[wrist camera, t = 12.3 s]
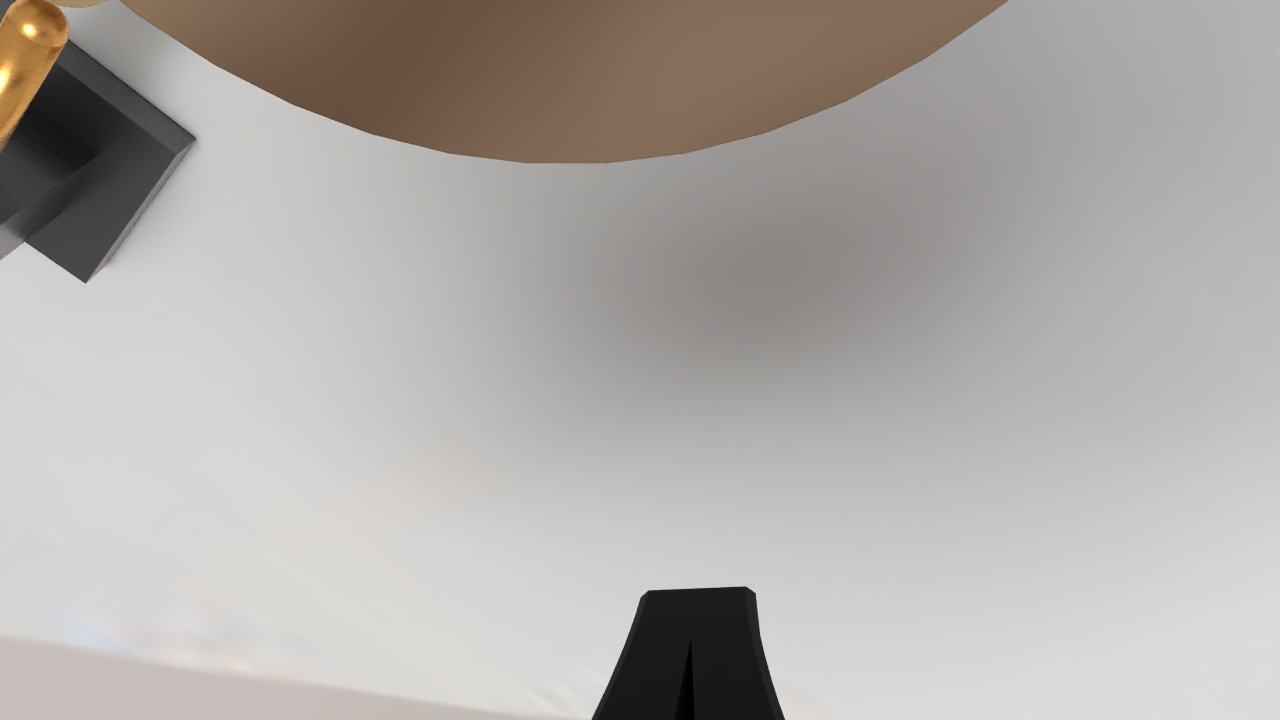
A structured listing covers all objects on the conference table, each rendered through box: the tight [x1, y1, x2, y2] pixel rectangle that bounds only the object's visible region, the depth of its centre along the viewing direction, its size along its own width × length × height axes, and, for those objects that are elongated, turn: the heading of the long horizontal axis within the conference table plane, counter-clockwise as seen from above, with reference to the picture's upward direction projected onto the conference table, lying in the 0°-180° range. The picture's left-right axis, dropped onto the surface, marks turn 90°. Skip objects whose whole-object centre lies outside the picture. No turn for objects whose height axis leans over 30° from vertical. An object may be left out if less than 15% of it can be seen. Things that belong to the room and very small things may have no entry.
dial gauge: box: [0, 0, 196, 284], centre depth 17 cm, size 7×4×6 cm, turn 137°
